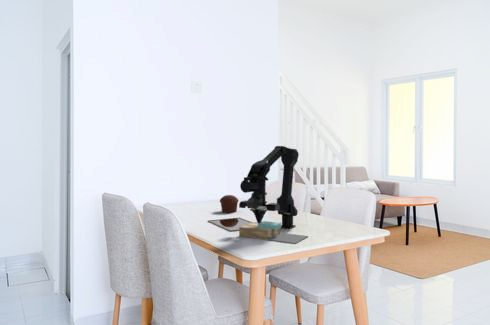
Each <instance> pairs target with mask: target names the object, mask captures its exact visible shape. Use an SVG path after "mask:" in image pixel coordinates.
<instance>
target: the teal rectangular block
mask: <svg viewBox="0 0 490 325" xmlns="http://www.w3.org/2000/svg"><path fill="white" fill-rule="evenodd" d="M281 225H282V222H275V221H268V220H267V221H266V220H265V221H264V220H262V221H261V222H260V223H258V228H265V229H274V230H276V229H278V228H280V229H281V228H282V227H281Z"/></svg>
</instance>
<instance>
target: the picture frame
mask: <svg viewBox="0 0 490 325" xmlns="http://www.w3.org/2000/svg"><path fill="white" fill-rule="evenodd" d="M207 222H208V223H210V222H211V223H210V224H212V223H213V225H214V224H215V226H217V227H219V228H221V229H222V230H223V229H224V230H226V231H228V232H230V233H231V232H233V233H234V232H239V227H242V226H245V225H248V224H250V223H253V221H251V220H247V219H245V218H242V217H231V218H230V217H229V218H221V219H210V220H207Z"/></svg>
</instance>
